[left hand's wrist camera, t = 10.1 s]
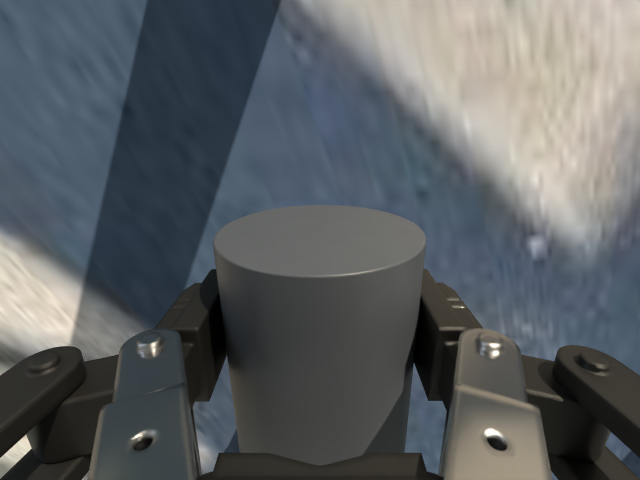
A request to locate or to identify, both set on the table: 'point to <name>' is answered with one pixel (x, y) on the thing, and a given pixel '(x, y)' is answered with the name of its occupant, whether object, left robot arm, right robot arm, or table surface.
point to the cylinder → (320, 329)
